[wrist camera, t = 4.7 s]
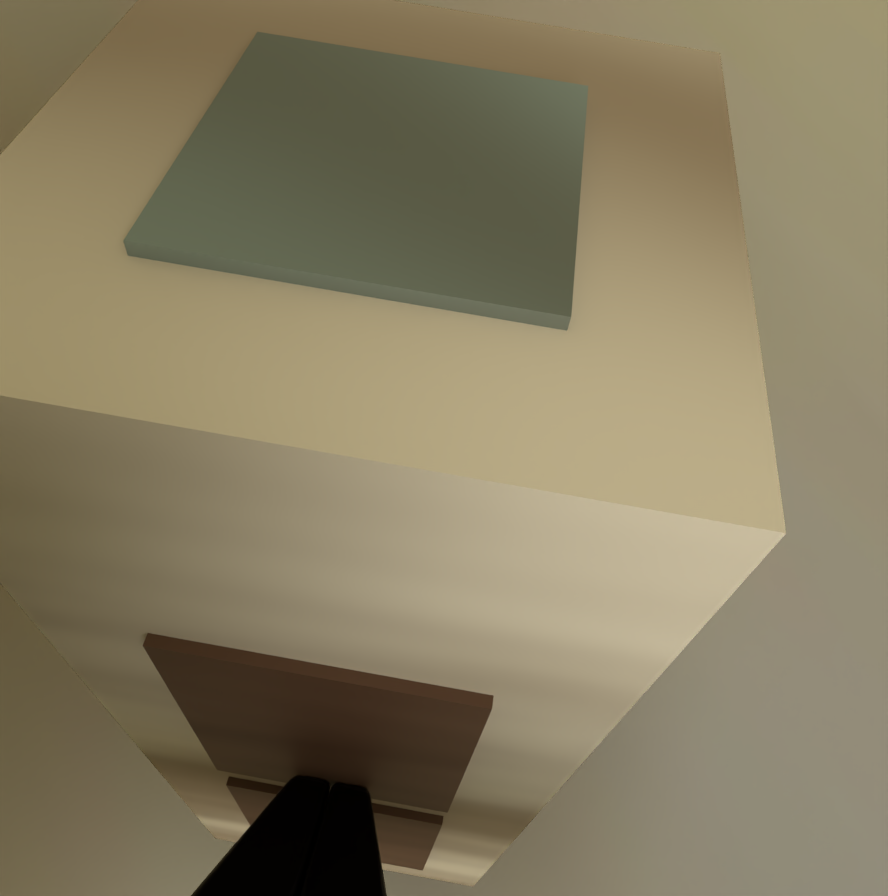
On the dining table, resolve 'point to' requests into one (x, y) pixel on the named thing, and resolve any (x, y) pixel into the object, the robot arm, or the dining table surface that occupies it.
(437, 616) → the cream two-panel pillar
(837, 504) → the dining table surface
